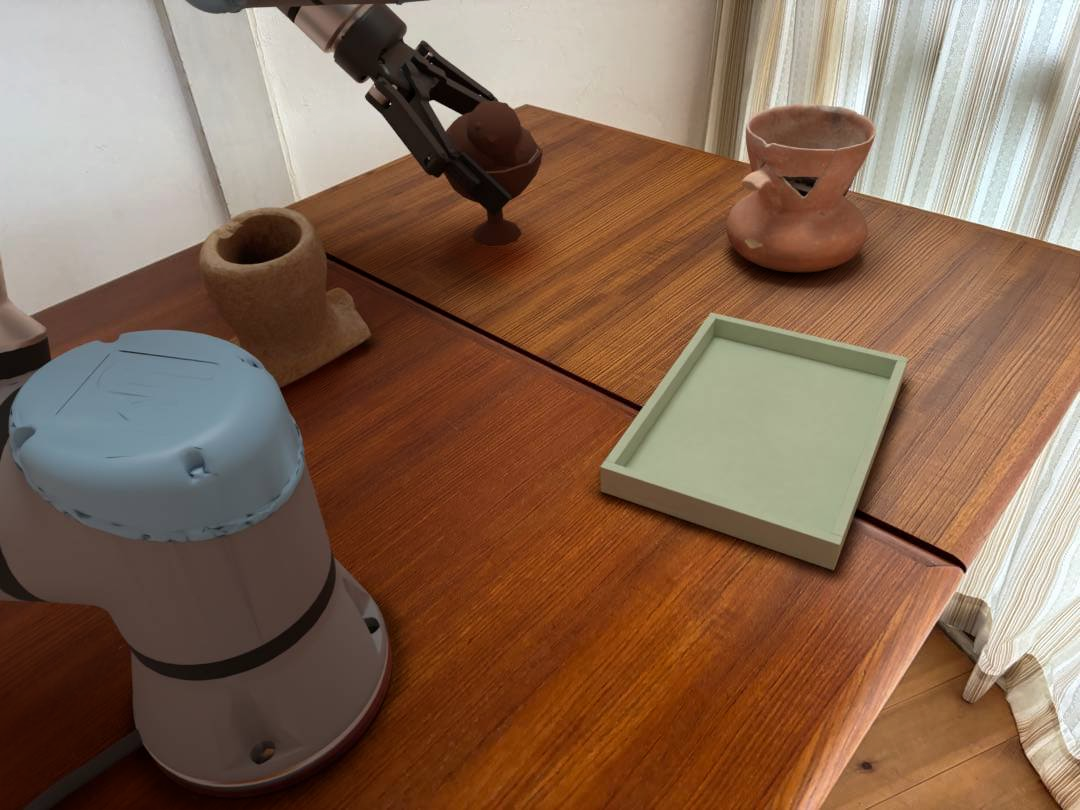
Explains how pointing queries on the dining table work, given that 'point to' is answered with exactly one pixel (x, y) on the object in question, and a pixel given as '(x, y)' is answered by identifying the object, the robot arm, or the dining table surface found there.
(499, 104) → the ice cream bowl
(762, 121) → the ceramic jug
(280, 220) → the stone cup
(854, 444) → the serving tray
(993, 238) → the dining table surface
